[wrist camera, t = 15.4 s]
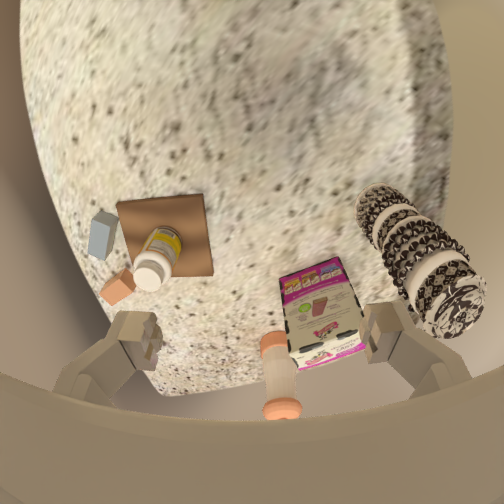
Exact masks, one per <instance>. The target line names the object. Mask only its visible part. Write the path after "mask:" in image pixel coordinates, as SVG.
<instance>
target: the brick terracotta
mask: <svg viewBox="0 0 504 504" xmlns="http://www.w3.org/2000/svg"><path fill="white" fill-rule="evenodd" d="M135 287H136V283H135V282H134V279H133V275H132V274H131V273H130V272H129V271H128V270H127V269H126V268H125V269H124V270H122V271H121V272H120V273H118V274H117V275H116V276H114V277H113V278H112V279H110V280H109V281H108V282H106V283H105V285H104V286H103V288H102V290H101V291H100V293H99V295H100V296H101V297H103V298H104V299H105V300H106V301H107V302H108V303H109V304H110V305H111V306H113V305H114V304H116V303H117V302H119V301H120V300H122V299H123V298H125V297H126V296H128V295H130V294H131V293H133V291H134V289H135Z"/></svg>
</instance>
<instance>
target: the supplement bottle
mask: <svg viewBox="0 0 504 504" xmlns="http://www.w3.org/2000/svg"><path fill="white" fill-rule="evenodd" d="M181 248H182V240H181V238H180V236H179V234H178V233H177V232H176V231H175V230H173V229H171V228H169V227H158V228H156V229H154V230H153V231H152V232H151V234H150V235H149V237H148V238H147V240H146V242H145V243H144V245H143V246H142V248H141V250H140V251H139V253H138V255H137V256H136V258H135V260H134V265H133V267H134V271H135V272H134V274H133V279H134V282H135V283H136V285H137V286H138V287H139V288H140V289H142V290H144V291H148V292H154V291H156V290H158V289H159V288H160V286H161V285H163V284H165V283H166V282H167V281H168V280H169V279H170V277H171V275H172V272H173V269H174V267H175V264H176V262H177V259H178V256H179V254H180V251H181Z"/></svg>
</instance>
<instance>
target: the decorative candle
mask: <svg viewBox="0 0 504 504" xmlns="http://www.w3.org/2000/svg"><path fill="white" fill-rule="evenodd" d="M354 216H355V218H356V221H357V223H358V224H359V227H360V228H362V232H365V233H366V237H367V238H368V239H370V243H371V244H372V245H374V248H375V249H376V250H378V251H379V252H380V253H381V254H382V259H383V261H384V266H385V267H386V268H388V269H389V271H388V274H389V275H390V276H392V278H393V279H394V280H393V284H394V286H397V288H398V289H399V291H398V294H399V295H400V296H403V297H404V299H405V300H410V303H411V304H410V305H409V307H408V309H409V311H410V312H417V313H418V314H419V315H420V318H421V320H422V321H423V328H424V331H425V332H426V333H428V334H429V335H431V336H432V337H434V338H445V339H451V338H454V337H457V336H459V335H461V334H463V333H464V332H466V331H467V330H468V329H469V328H471V327H472V326H473V325H474V323H475V322H476V321H477V320H478V318H479V317H480V315H481V313H482V311H483V308H484V301H485V296H486V288H487V284H486V282H485V280H484V278H483V277H481V276H478V275H477V274H476V272H475V271H474V270H473V269H472V268H471V266H470V264H469V263H468V262H469V259H470V257H469V255H468V254H466V253H465V249H464V247H463V246H461V245H460V246H458V242H457V241H456V240H455V239H451V238H450V236H449V235H448V234H447V232H446V231H442V229H441V227H440V226H438V225H437V226H435V224H434V222H432V221H431V220H430V219H428V218H426V217H423V216H421V214H420V213H419V211H418V210H417V209H415V206H414V204H413V203H410V202H409V200H408V199H405V197H404V195H403V194H401V193H399V191H398V190H396V189H394V188H393V187H392V186H390V185H387V184H385V183H376V184H372V185H370V186H368V187H366V188H365V189H364V190H363V191H362V192H361V193H360V194H359V195H358V197H357V200H356V202H355V204H354ZM454 250H456V251H454ZM398 280H399V281H398ZM404 290H405V291H406V292H405V291H404Z"/></svg>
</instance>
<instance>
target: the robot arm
mask: <svg viewBox="0 0 504 504" xmlns="http://www.w3.org/2000/svg"><path fill="white" fill-rule="evenodd" d="M363 313H364V317H363V318H362V319H361V320H360V325H359V335H360V340H361V342H362V343H363V344H364V345H365V346H366V348H365V350H364V352H365V355H366V358H367V361H368V364H372V363H380V362H386V361H388V363H389V364H390V365H391V366H392V367H393V368H394V369H395V370H396V371H397V372H398V373H399V374H400V375H401V376H402V377H403V378H404V379H405V380H406V381H407V382H408V383H410V385H412V386H413V387H414V388H415V391H414V392H413V393H412V395H411V396H410V398H409V399H408V400H405V401H401V402H397V403H393V404H388V405H384V406H379V407H375V408H370V409H364V410H359V411H353V412H347V413H340V414H334V415H326V416H317V417H308V418H296V419H281V420H260V421H259V420H255V421H230V420H204V419H190V418H178V417H169V416H160V415H153V414H145V413H139V412H133V411H127V410H122V409H117V407H116V406H115V405H114V404H113V403H112V401H111V400H110V398H111V397H112V396H113V395H114V394H115V392H116V391H117V390H118V389H119V388H120V387H121V386H122V385H123V384H124V383H125V382H126V381H127V380H128V379H129V378H130V377H131V375H132V374H133V373H134V372H135V371H136V370H147V371H155V368H156V365H157V361H158V356H157V354H156V353H157V352H158V351H159V350H161V347H162V341H163V335H162V331H161V328H160V326H158V325H157V324H156V321H157V317H156V315H155V313H153V312H140V311H121V310H120V311H119V312H117V314H116V316H115V318H114V320H113V322H112V325H111V327H110V329H109V331H108V333H107V336H106V337H105V339H101V340H100V341H98V342H97V343H96V344H94V345H93V346H92V347H90V348H89V349H88V350H86V351H85V352H84V353H82V354H81V355H80V356H79V357H77V358H76V359H74V360H73V361H72V362H70V363H69V364H68V365H66V366H65V367H64V368H63V369H62V371H61V373H60V375H59V377H58V379H57V381H56V384H55V386H54V388H53V390H52V392H51V391H48V390H45V389H42V388H39V387H36V386H33V385H31V384H28V383H26V382H23V381H20V380H18V379H15V378H13V377H11V376H8V375H6V374H4V373H1V372H0V504H504V365H503V366H500V367H499V368H496V369H494V370H492V371H490V372H487V373H485V374H482V375H480V376H478V377H475V378H473V379H472V377H471V375H470V373H469V371H468V369H467V367H466V365H465V363H464V361H463V359H462V357H461V356H460V355H459V354H457V353H456V352H455V351H453V350H452V349H450V348H449V347H447V346H446V345H444V344H443V343H441V342H440V341H438V340H437V339H435V338H434V337H432V336H431V335H429V334H428V333H426V332H425V331H423V330H422V329H420V328H416V326H415V324H414V323H413V321H412V319H411V317H410V315H409V313H408V311H407V310H406V308H405V306H404V304H403V302H402V301H400V300H397V301H390V302H382V303H373V304H366V305H365V307H364V310H363Z"/></svg>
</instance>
